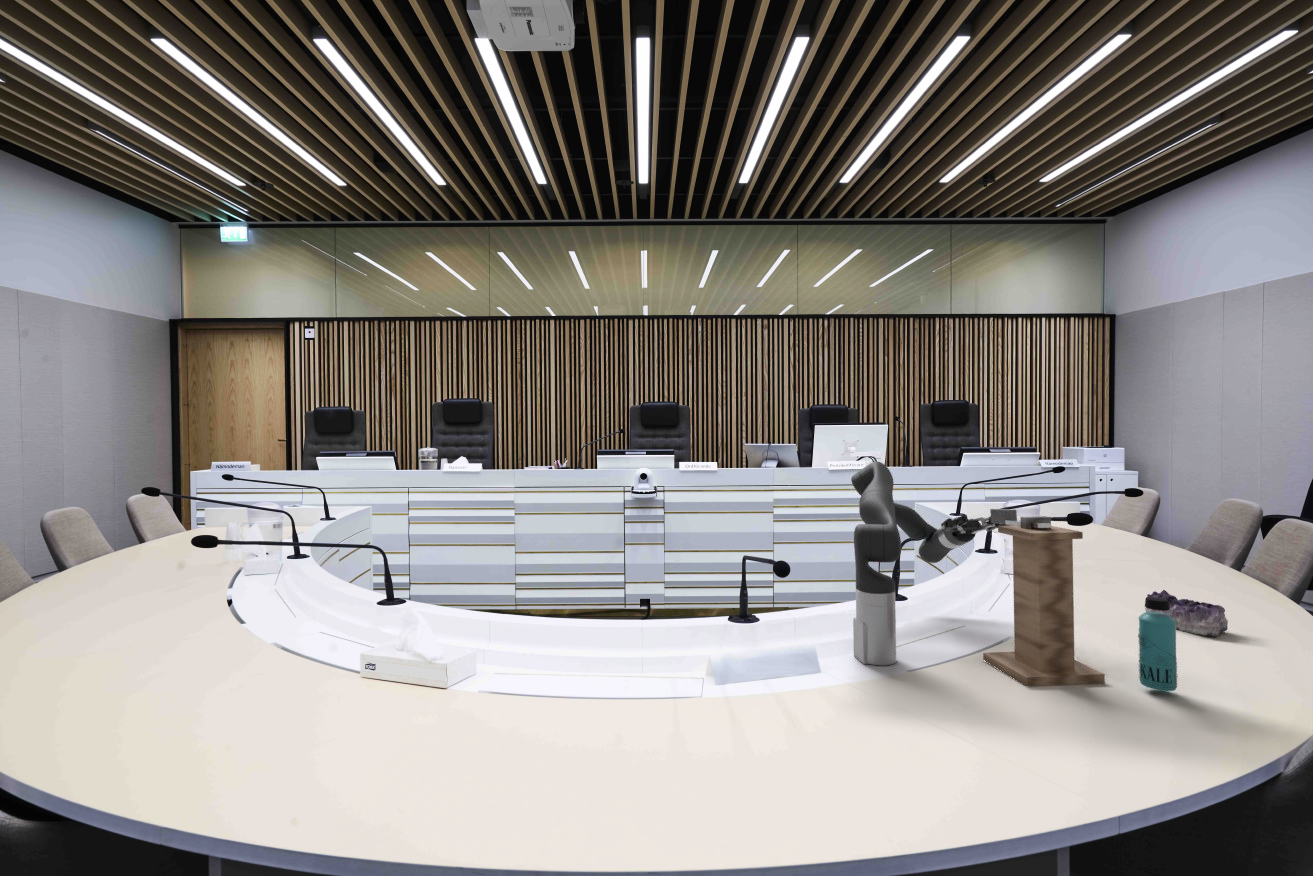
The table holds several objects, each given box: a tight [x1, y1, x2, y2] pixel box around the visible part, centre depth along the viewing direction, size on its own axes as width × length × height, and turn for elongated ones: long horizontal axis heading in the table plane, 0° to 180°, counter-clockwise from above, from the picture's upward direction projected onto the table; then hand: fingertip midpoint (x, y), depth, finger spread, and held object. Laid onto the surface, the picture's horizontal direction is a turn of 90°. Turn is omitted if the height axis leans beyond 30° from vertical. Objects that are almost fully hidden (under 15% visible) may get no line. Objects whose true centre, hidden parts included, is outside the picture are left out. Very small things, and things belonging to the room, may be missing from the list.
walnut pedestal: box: [982, 515, 1106, 687], centre depth 146 cm, size 18×16×36 cm
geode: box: [1144, 589, 1229, 638], centre depth 178 cm, size 20×12×10 cm, turn 19°
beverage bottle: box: [1137, 596, 1179, 692], centre depth 133 cm, size 6×7×20 cm
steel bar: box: [990, 508, 1052, 528], centre depth 153 cm, size 3×18×4 cm, turn 4°
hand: (982, 517), depth 171 cm, fingers open, 8 cm apart
